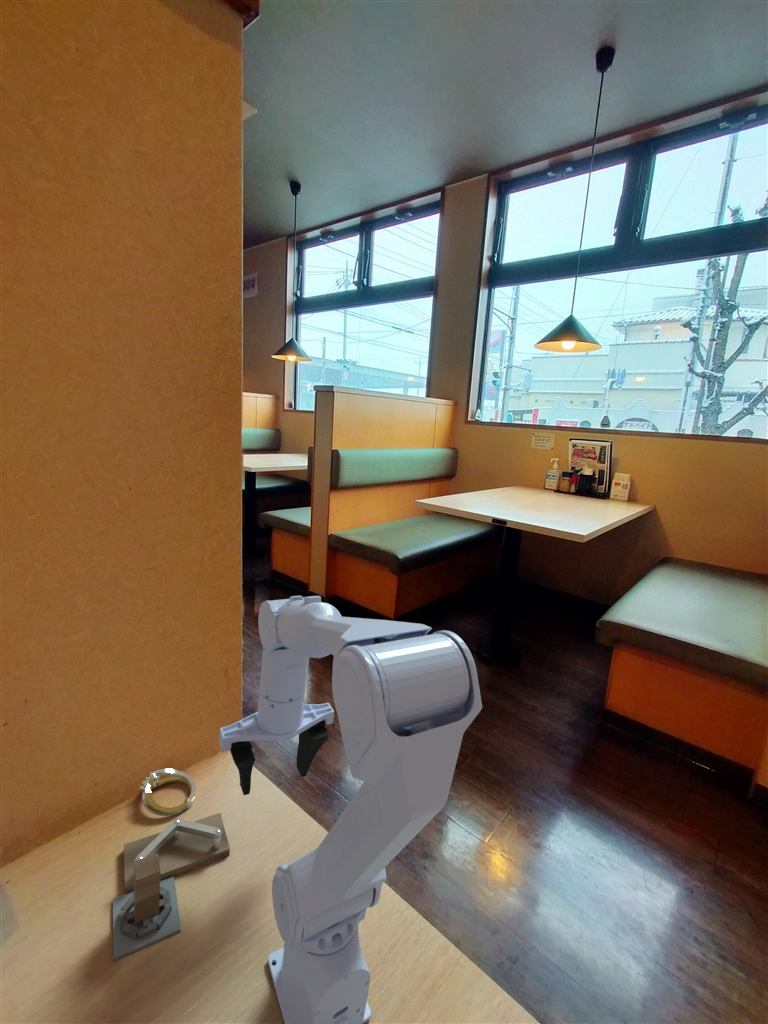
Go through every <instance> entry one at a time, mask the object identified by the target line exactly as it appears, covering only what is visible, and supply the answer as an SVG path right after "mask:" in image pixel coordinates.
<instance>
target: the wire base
mask: <svg viewBox="0 0 768 1024" xmlns="http://www.w3.org/2000/svg"><path fill="white" fill-rule="evenodd" d="M223 821H224V820H223V818H222V812H218V813H216V814H213V815H210V816H206V817H203V818H201V819H197V820H195V821H193V822H195V823H200V824H204V825H208V826H212V827H217V828H220V830H221V831H222V835H221V846H220V848H219V849H218V850H213V848H212V846H213V839H210V838H206V837H202V836H197V835H193V834H189V833H185V832H181V831H180V838H179V839H178V840H172V836H171V837H170V838H169V839H168V840H167V841H166V842H165V843H164V844H163V845H162V846H161V847H160V848H159V849H158V850H157V851H156V852H155V853H154V854H156V853H159V862H160V871H161V872H160V881H162V880H165V879H167V878H170V877H173V876H174V877H175V876H178V875H180V874H184V873H185V872H187V871H190V870H193V869H197V868H199V867H201V866H202V867H203V866H204V865H208V864H209V863H212V862H215V861H217V860H220V859H223V858H226V857H228V856H230V853H231V852H230V851H231V850H230V849H231V848H230V844H229V840H228V835H227V834H226V830H225V825H224V822H223ZM161 832H162V831H160V832H157V833H154V834H152V835H149V836H145V837H142V838H140V839H136V840H133V841H130V842H127V843H126V842H125V844H123V871H124V876H123V877H124V895H125V894H128V893H130V892H133V891H134V867H135V864H134V861H135V859H136V857H137V856H138V855H139V854H140V853H141V852H142V851H143V850H144V849H145V848H146V847H147V846H148V845H149V844H150V843H151V842H152V841H153V840H154V839H155V838H156V837H157V836H158V835H159V834H160V833H161Z"/></svg>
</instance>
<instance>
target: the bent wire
mask: <svg viewBox="0 0 768 1024" xmlns="http://www.w3.org/2000/svg"><path fill="white" fill-rule="evenodd" d="M180 831H181V832H185V833H189V834H193V835H197V836H202V837H206V838H210V839H213V846H212V848H213V850H218V849H219V848H220V846H221V835H222V831H221V830H220V828H217V827H212V826H208V825H204V824H200V823H195V822H194V821H191V820H186V819H184V818H183V819H182V818H175V819H174V820H172V822H170V823H169V824H168V825H167V826H166V827H165V828H164V829H163V830H162V831H160V832H161V833H160V832H159V833H160V834H159V835H158V836H157V837H156V838H155V839H154V840H153V841H152V842H151V843H150V844H149V845H148V846H147V847H146V848H145V849H144V850H143V851H142V852H141V853H140V854H139V855H138V856H137V857H136V859H135V861H136V860H139V859H142V858H145V857H147V856H150V855H153V854H154V853H155V852H156V851H157V850H158V849H159V848H160V847H161V846H162V845H163V844H164V843H165V842H166V841H167V840H168V839H169V838H170V837H171V836H172V840H178V839H179V838H180ZM135 861H134V864H135Z"/></svg>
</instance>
